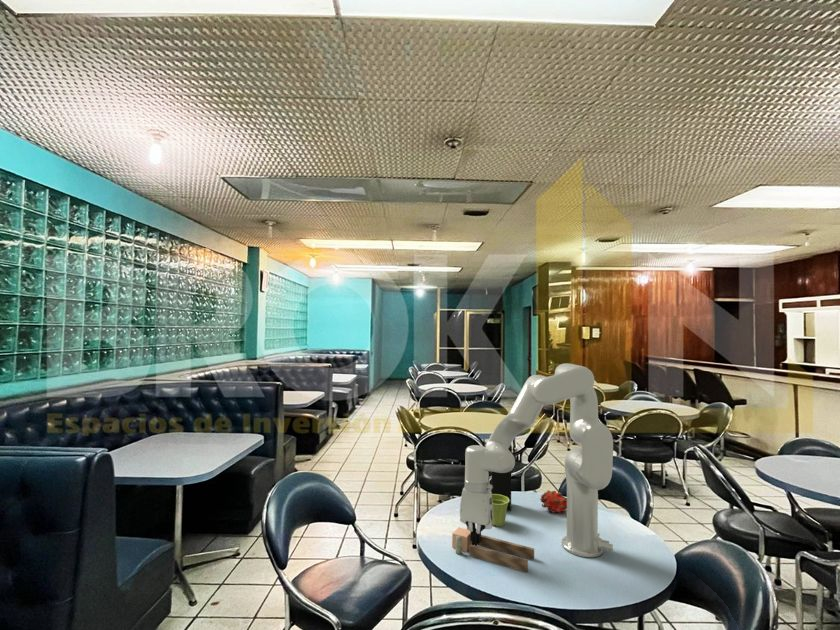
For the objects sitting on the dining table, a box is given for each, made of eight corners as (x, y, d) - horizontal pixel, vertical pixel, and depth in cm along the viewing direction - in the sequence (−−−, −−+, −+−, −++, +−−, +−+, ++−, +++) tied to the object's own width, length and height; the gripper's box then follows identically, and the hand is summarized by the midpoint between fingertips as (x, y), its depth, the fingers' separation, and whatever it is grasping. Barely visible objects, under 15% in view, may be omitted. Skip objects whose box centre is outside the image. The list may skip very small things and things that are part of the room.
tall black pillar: (490, 509, 166) (491, 437, 167) (490, 501, 174) (491, 433, 175) (511, 511, 165) (512, 438, 166) (510, 503, 173) (511, 434, 174)
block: (472, 544, 139) (472, 530, 139) (466, 551, 134) (466, 537, 134) (458, 540, 141) (458, 527, 141) (452, 547, 137) (452, 533, 137)
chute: (534, 556, 132) (535, 540, 132) (526, 574, 122) (526, 556, 122) (467, 538, 142) (468, 523, 143) (454, 553, 133) (455, 537, 133)
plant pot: (493, 530, 149) (494, 505, 149) (478, 520, 157) (478, 496, 157) (514, 525, 153) (514, 501, 153) (498, 515, 161) (498, 492, 162)
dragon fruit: (537, 512, 168) (568, 520, 166) (541, 507, 161) (573, 515, 159) (538, 491, 173) (569, 497, 171) (542, 484, 166) (574, 491, 164)
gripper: (502, 486, 136) (501, 544, 135) (459, 478, 143) (458, 533, 142) (495, 494, 129) (494, 555, 129) (450, 484, 136) (449, 542, 136)
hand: (475, 543), depth 135 cm, fingers closed
